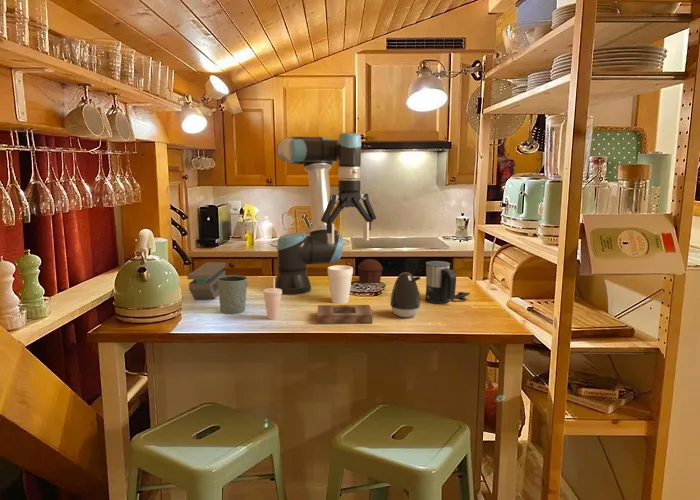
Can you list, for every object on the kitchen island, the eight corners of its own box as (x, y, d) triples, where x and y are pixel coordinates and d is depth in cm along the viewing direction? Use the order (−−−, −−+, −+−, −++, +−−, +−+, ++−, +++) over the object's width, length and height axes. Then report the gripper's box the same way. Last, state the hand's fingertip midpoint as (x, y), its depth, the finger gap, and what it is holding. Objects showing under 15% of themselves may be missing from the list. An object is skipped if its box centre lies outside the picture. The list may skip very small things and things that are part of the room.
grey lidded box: (207, 287, 217) (206, 262, 215) (226, 287, 217) (225, 262, 215) (188, 303, 192) (187, 275, 191) (209, 304, 192) (208, 275, 190)
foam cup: (356, 299, 199) (356, 266, 197) (346, 305, 191) (346, 271, 188) (334, 297, 203) (334, 264, 201) (323, 302, 195) (323, 268, 192)
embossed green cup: (216, 308, 186) (215, 276, 184) (244, 305, 190) (243, 273, 188) (221, 316, 177) (220, 282, 175) (250, 313, 181) (249, 279, 179)
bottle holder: (317, 324, 169) (317, 315, 168) (317, 313, 181) (317, 305, 180) (372, 323, 170) (372, 314, 169) (369, 313, 182) (369, 304, 181)
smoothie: (279, 321, 172) (278, 280, 169) (260, 320, 173) (259, 279, 171) (285, 315, 178) (284, 276, 176) (267, 314, 179) (266, 275, 177)
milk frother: (419, 300, 198) (420, 262, 195) (442, 293, 209) (443, 257, 207) (451, 308, 188) (453, 268, 186) (474, 299, 200) (475, 262, 197)
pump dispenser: (412, 321, 172) (413, 277, 170) (384, 316, 178) (385, 273, 175) (425, 314, 181) (426, 271, 178) (398, 309, 186) (399, 268, 183)
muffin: (355, 279, 233) (356, 257, 232) (380, 278, 235) (380, 257, 233) (359, 285, 222) (359, 262, 220) (384, 285, 223) (385, 262, 221)
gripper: (320, 180, 167) (321, 245, 170) (386, 179, 178) (385, 240, 182) (311, 179, 173) (311, 242, 177) (375, 178, 185) (374, 237, 189)
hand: (349, 241), depth 180 cm, fingers open, 13 cm apart
